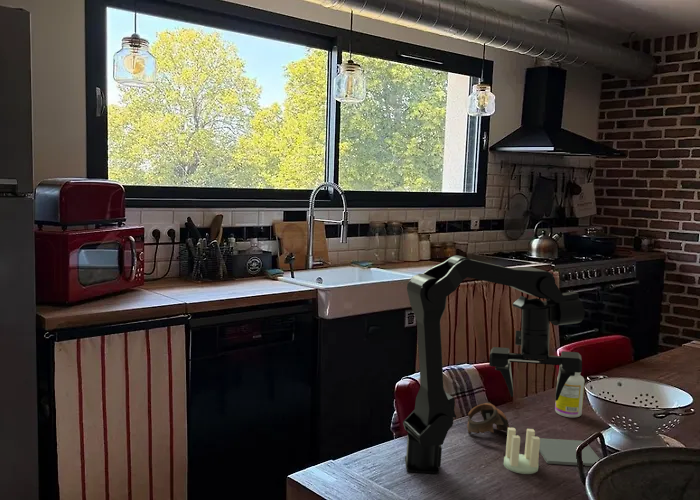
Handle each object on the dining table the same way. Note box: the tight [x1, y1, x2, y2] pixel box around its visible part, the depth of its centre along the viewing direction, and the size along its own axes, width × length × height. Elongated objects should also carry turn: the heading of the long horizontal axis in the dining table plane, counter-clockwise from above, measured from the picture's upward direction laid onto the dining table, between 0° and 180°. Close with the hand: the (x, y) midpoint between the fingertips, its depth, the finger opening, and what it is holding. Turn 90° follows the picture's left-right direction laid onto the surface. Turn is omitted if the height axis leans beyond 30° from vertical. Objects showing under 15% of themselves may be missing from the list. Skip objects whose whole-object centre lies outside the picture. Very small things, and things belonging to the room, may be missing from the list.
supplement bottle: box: [554, 372, 585, 418], centre depth 165 cm, size 7×7×13 cm
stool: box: [503, 427, 541, 475], centre depth 133 cm, size 7×7×7 cm
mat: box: [539, 437, 601, 467], centre depth 141 cm, size 12×12×1 cm
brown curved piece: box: [466, 401, 510, 434], centre depth 150 cm, size 12×10×8 cm
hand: (534, 397), depth 137 cm, fingers open, 9 cm apart
